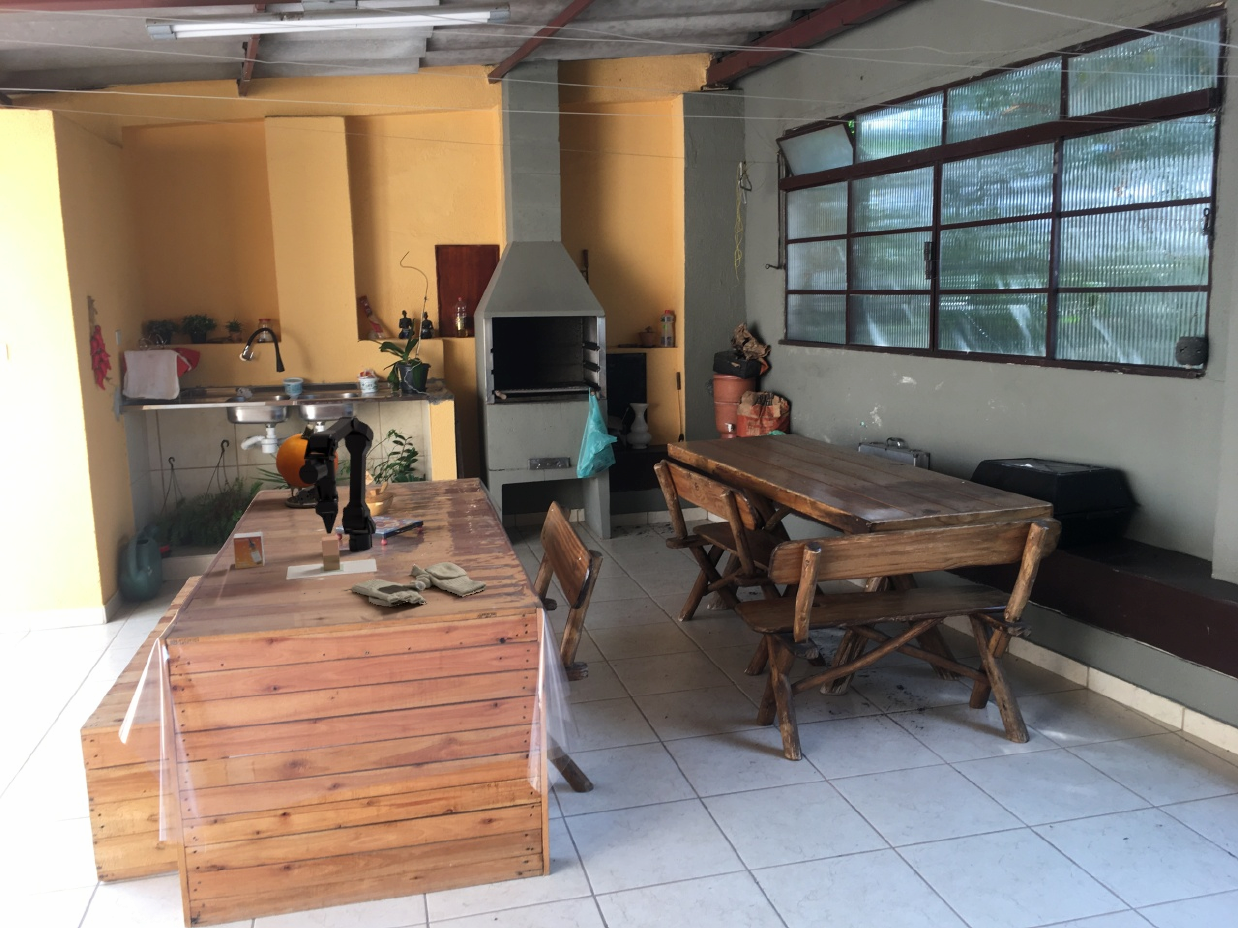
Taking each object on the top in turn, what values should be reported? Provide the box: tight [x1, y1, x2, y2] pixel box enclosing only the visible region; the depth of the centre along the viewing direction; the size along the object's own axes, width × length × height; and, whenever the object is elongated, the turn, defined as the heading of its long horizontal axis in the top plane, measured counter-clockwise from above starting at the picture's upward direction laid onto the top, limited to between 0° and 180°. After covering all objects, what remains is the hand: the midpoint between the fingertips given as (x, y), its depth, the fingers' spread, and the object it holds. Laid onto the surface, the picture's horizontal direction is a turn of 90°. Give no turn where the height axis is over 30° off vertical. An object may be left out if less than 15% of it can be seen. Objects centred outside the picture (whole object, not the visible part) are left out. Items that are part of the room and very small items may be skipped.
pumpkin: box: [275, 424, 340, 509], centre depth 386 cm, size 22×22×30 cm
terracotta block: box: [321, 535, 340, 557], centre depth 298 cm, size 4×4×4 cm
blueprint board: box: [285, 558, 378, 580], centre depth 300 cm, size 25×13×1 cm, turn 105°
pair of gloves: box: [351, 561, 487, 608], centre depth 282 cm, size 30×26×5 cm
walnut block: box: [322, 554, 341, 571], centre depth 299 cm, size 4×4×4 cm
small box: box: [232, 531, 266, 570], centre depth 304 cm, size 8×6×10 cm
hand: (329, 529), depth 297 cm, fingers open, 9 cm apart
